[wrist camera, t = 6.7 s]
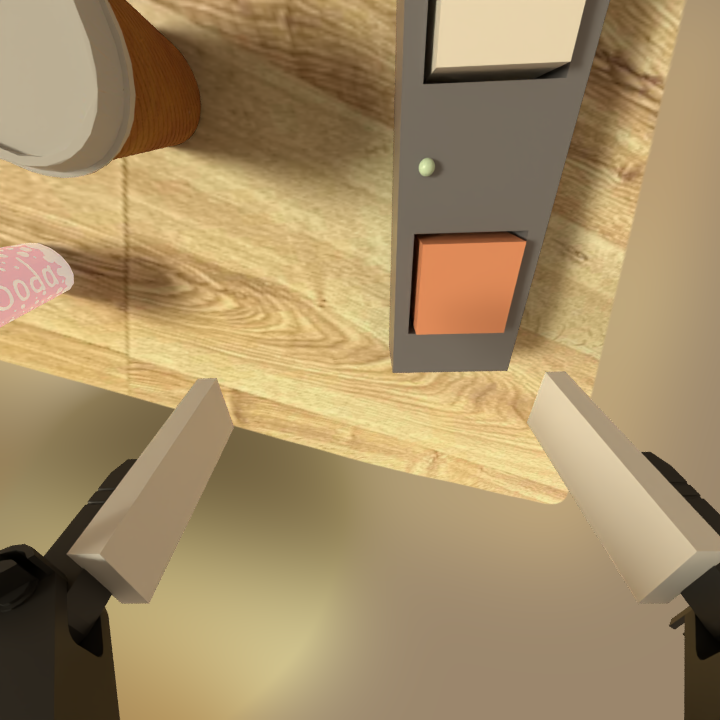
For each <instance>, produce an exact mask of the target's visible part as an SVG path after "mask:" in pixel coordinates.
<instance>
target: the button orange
mask: <svg viewBox="0 0 720 720" xmlns="http://www.w3.org/2000/svg"><path fill="white" fill-rule="evenodd" d="M525 245H526V241H524V240H522V239H520V238H518V237H516V236H515V235H513V234H511V233H509V232H507V231H496V232H463V233H431V234H414V244H413V261H412V278H411V295H410V311H409V312H410V315H411V319H412V322H413V326H414V329H415V332H416V335H426V334H471V333H504V330H505V326H506V322H507V318H508V314H509V310H510V306H511V302H512V298H513V294H514V290H515V285H516V281H517V277H518V273H519V269H520V265H521V261H522V257H523V253H524V249H525Z"/></svg>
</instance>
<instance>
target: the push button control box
mask: <svg viewBox="0 0 720 720" xmlns="http://www.w3.org/2000/svg"><path fill="white" fill-rule="evenodd" d="M609 2H610V0H586V2H585V6H584V10H583V14H582V18H581V22H580V26H579V30H578V34H577V38H576V42H575V46H574V50H573V54H572V58H571V62H568V63H566V64H564V65H562V66H560V67H558V68H556V69H554V70H552V71H550V72H547V73H545V74H543V75H541V76H539V77H537V78H535V79H532V80H510V81H487V82H465V83H442V84H423V77H424V60H425V44H426V27H427V10H428V0H397V15H396V59H395V104H394V149H393V193H392V238H391V283H390V327H389V349H390V356H391V364H392V371H393V373H412V372H465V371H507V370H508V366H509V363H510V359H511V355H512V352H513V348H514V345H515V341H516V337H517V334H518V330H519V327H520V323H521V319H522V316H523V312H524V309H525V305H526V301H527V298H528V294H529V290H530V287H531V283H532V280H533V276H534V272H535V269H536V265H537V262H538V258H539V254H540V251H541V247H542V244H543V240H544V236H545V233H546V229H547V226H548V222H549V218H550V215H551V211H552V207H553V204H554V200H555V197H556V193H557V189H558V186H559V182H560V179H561V175H562V171H563V168H564V164H565V161H566V157H567V153H568V150H569V146H570V142H571V139H572V135H573V132H574V128H575V124H576V121H577V117H578V114H579V110H580V106H581V103H582V99H583V96H584V92H585V88H586V85H587V81H588V77H589V74H590V70H591V67H592V63H593V59H594V56H595V52H596V49H597V45H598V41H599V38H600V34H601V31H602V27H603V23H604V20H605V16H606V12H607V9H608V5H609ZM496 231H507V232H509V233H511V234H513V235H515V236H516V237H518V238H520V239H522V240H524V241H526V245H525V249H524V253H523V257H522V261H521V265H520V269H519V273H518V277H517V281H516V285H515V290H514V294H513V298H512V302H511V306H510V310H509V314H508V318H507V322H506V326H505V330H504V333H471V334H426V335H416V332H415V329H414V326H413V322H412V319H411V315H410V312H409V311H410V295H411V278H412V261H413V244H414V234H431V233H463V232H496Z"/></svg>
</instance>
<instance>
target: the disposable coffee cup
mask: <svg viewBox="0 0 720 720" xmlns="http://www.w3.org/2000/svg"><path fill="white" fill-rule="evenodd" d="M200 111H201V103H200V94H199V90H198V85H197V82H196V80H195V77H194V75H193V72H192V70H191V68H190V67H189V65H188V63H187V61H186V60H185V58H184V57H183V55H182V54H181V53H180V51H179V50H178V49H177V48H176V47H175V46H174V45H173V44H172V43H171V42H170V41H169V40H167V39H166V38H165V37H164V36H163V35H162V34H161V33H160V32H159V31H158V30H157V29H156V28H155V27H154V26H153V25H151V24H150V23H149V22H148V21H147V20H146V19H145V18H144V17H143V16H142V15H141V14H140V13H139V12H138V11H137V10H136V9H134V8H133V7H132V6H131V5H130V4H129V3H128V2H127V1H126V0H0V159H3V160H5V161H8V162H11V163H12V164H15V165H17V166H19V167H22V168H24V169H27V170H29V171H32V172H35V173H39V174H42V175H46V176H53V177H60V178H69V177H79V176H84V175H88V174H91V173H95V172H96V171H98V170H99V169H101V168H103V167H104V166H106V165H108V164H109V163H110V162H111V161H112V160H114V159H117V158H122V157H127V156H130V155H135V154H139V153H144V152H149V151H152V150H156V149H160V148H164V147H168V146H175V145H178V144H181V143H183V142H185V141H186V140H188V139H189V138H190V137H191V136H192V135H193V133H194V132H195V130H196V128H197V126H198V122H199V119H200Z"/></svg>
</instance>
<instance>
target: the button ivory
mask: <svg viewBox="0 0 720 720" xmlns="http://www.w3.org/2000/svg"><path fill="white" fill-rule="evenodd" d="M585 2H586V0H428V10H427V27H426V44H425V60H424V77H423V84H442V83H465V82H487V81H510V80H532V79H535V78H537V77H539V76H541V75H543V74H545V73H547V72H550V71H552V70H554V69H556V68H558V67H560V66H562V65H564V64H566V63H568V62H571V58H572V54H573V50H574V46H575V42H576V38H577V34H578V30H579V26H580V22H581V18H582V14H583V10H584V6H585Z"/></svg>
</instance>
